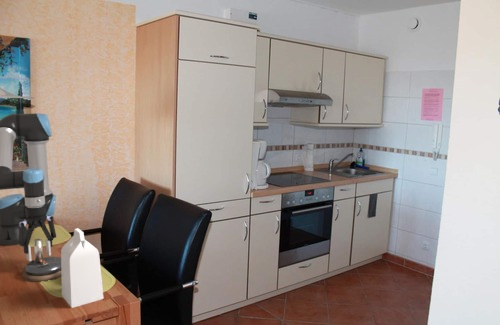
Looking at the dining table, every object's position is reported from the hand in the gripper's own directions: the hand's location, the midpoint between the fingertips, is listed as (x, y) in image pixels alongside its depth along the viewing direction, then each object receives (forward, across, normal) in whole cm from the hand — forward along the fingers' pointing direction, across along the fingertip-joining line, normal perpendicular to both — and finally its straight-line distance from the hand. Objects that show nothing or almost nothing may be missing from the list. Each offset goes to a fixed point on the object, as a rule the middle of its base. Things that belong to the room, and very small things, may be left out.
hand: (39, 257), depth 183 cm
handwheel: (+3, 0, -6) cm, 6 cm away
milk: (+6, -1, -36) cm, 37 cm away
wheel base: (+6, 0, -6) cm, 8 cm away
